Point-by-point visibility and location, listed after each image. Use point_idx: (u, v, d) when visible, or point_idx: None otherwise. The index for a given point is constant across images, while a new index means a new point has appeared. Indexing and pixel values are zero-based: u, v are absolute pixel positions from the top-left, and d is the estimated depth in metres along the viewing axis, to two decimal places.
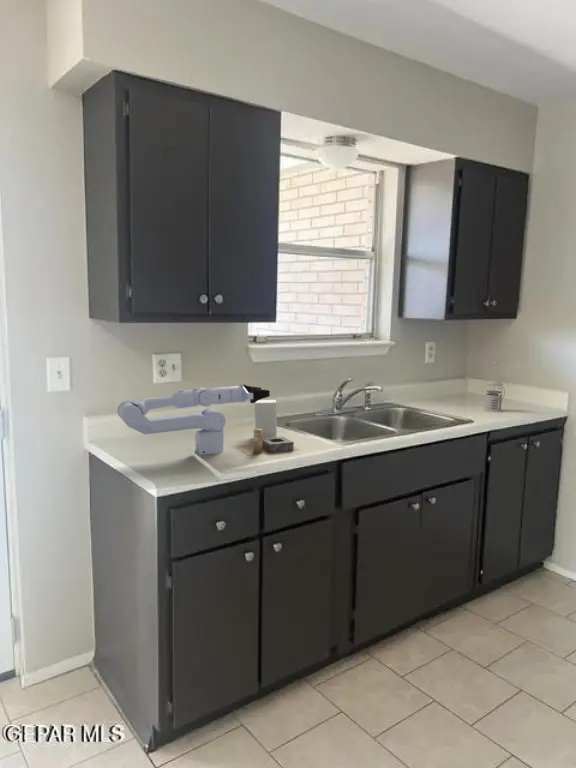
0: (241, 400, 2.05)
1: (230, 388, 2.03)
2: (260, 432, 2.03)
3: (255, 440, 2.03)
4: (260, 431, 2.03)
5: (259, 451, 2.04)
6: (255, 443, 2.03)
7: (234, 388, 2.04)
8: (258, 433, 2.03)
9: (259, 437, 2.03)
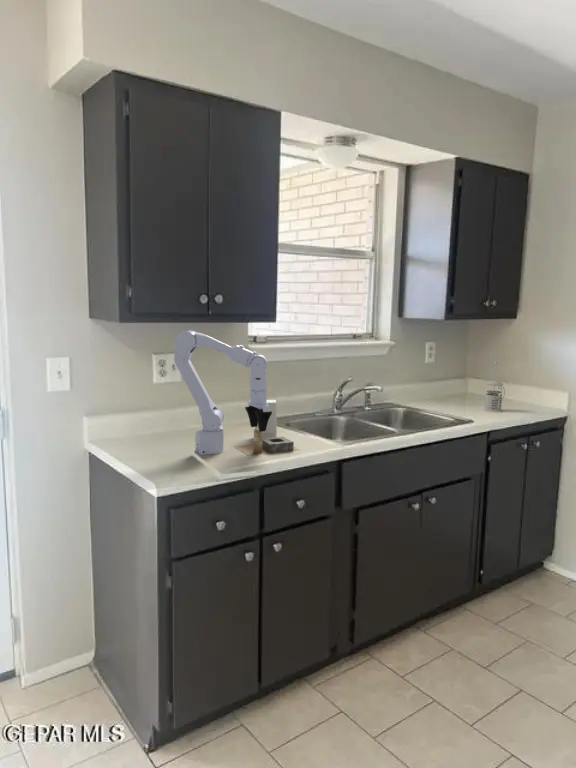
0: (254, 402, 2.00)
1: (266, 390, 2.02)
2: (260, 432, 2.03)
3: (255, 440, 2.03)
4: None
5: (259, 451, 2.04)
6: (255, 443, 2.03)
7: (266, 394, 2.02)
8: (258, 433, 2.03)
9: (259, 437, 2.03)
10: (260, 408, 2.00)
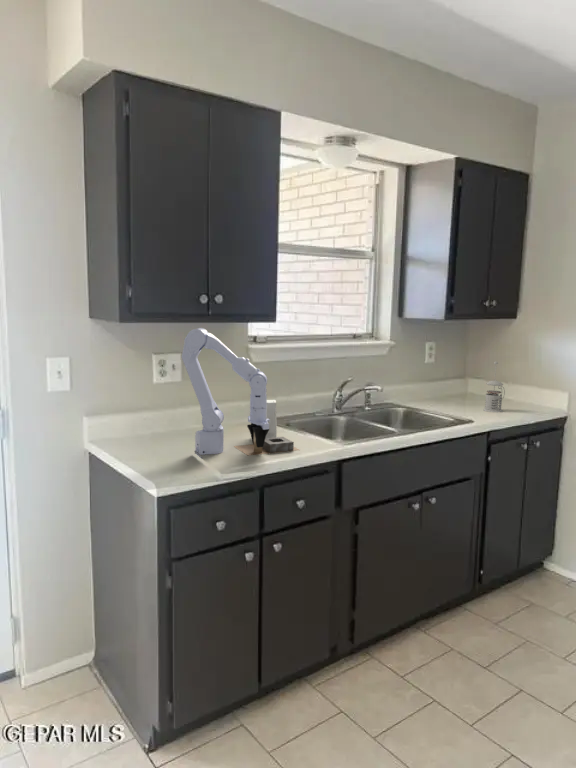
0: (254, 419, 2.01)
1: (266, 408, 2.03)
2: None
3: (255, 440, 2.03)
4: None
5: (259, 451, 2.04)
6: (255, 443, 2.03)
7: (266, 411, 2.02)
8: None
9: None
10: (260, 425, 2.01)
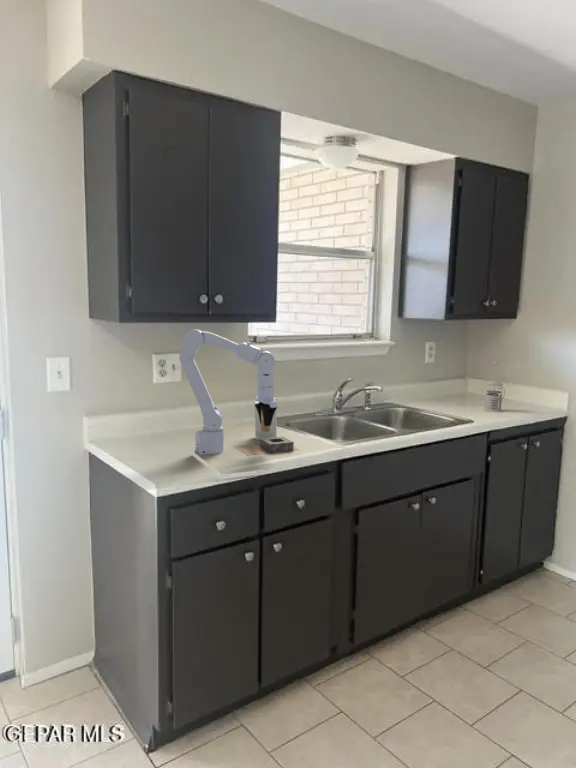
0: (262, 398, 2.02)
1: (273, 386, 2.03)
2: None
3: (262, 418, 2.04)
4: None
5: (267, 430, 2.05)
6: (263, 422, 2.04)
7: (273, 390, 2.03)
8: None
9: None
10: (267, 404, 2.02)
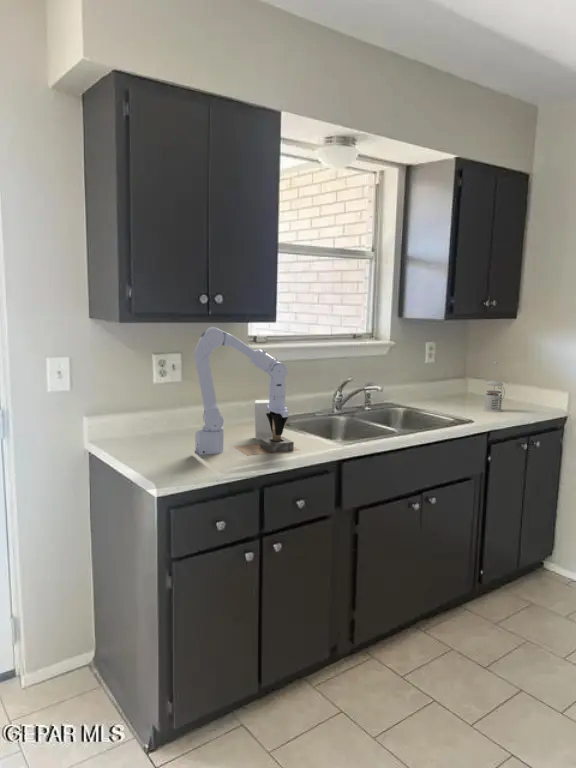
0: (274, 408, 2.06)
1: None
2: None
3: (274, 428, 2.08)
4: None
5: (278, 439, 2.08)
6: (274, 431, 2.08)
7: None
8: None
9: None
10: (279, 413, 2.06)
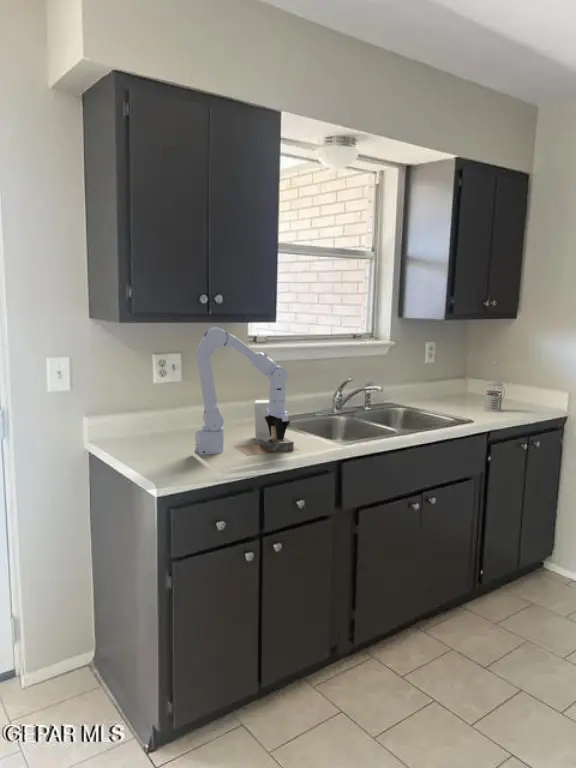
0: (273, 412, 2.06)
1: None
2: None
3: (273, 436, 2.08)
4: None
5: None
6: (273, 440, 2.09)
7: (284, 404, 2.07)
8: None
9: None
10: (279, 417, 2.06)
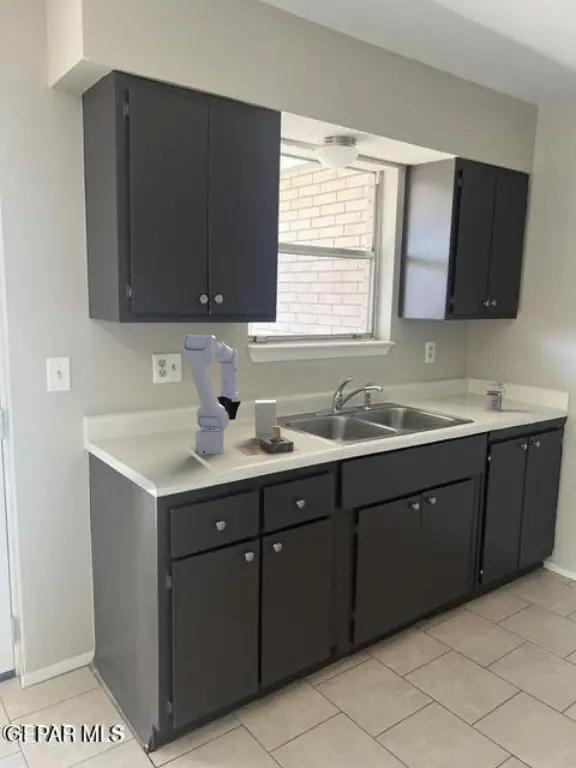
0: (224, 392, 2.14)
1: None
2: (278, 429, 2.08)
3: (274, 436, 2.08)
4: (278, 428, 2.08)
5: None
6: (274, 440, 2.09)
7: (235, 385, 2.15)
8: (277, 430, 2.08)
9: (278, 433, 2.08)
10: (230, 398, 2.14)
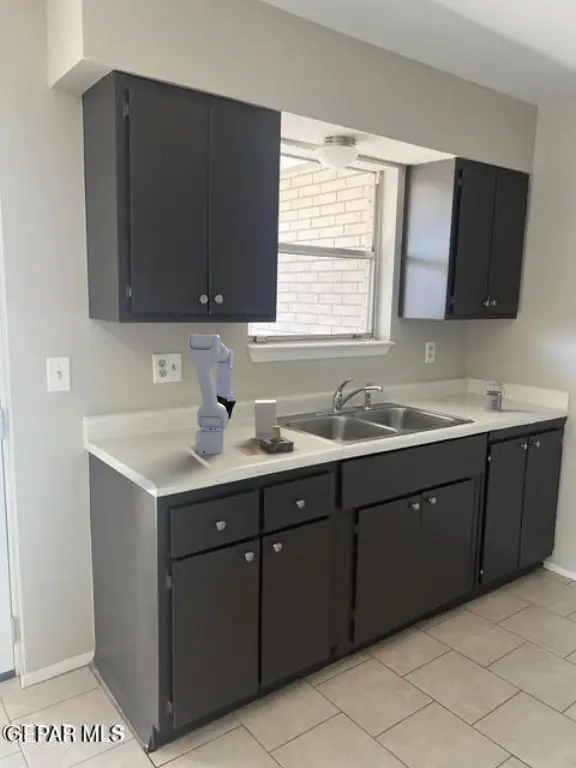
0: (220, 392, 2.15)
1: (231, 381, 2.16)
2: (278, 429, 2.08)
3: (274, 437, 2.08)
4: (278, 428, 2.08)
5: None
6: (274, 440, 2.08)
7: (231, 385, 2.16)
8: (277, 430, 2.08)
9: (278, 434, 2.08)
10: (225, 397, 2.15)
